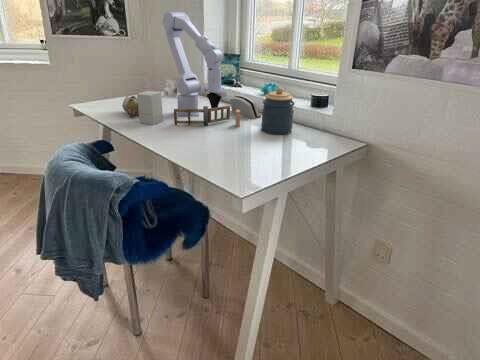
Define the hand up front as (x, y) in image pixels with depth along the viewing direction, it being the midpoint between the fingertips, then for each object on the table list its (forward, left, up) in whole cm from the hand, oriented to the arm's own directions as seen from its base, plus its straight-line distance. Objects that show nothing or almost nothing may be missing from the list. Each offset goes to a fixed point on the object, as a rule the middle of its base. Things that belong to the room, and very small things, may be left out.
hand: (214, 110), depth 158 cm
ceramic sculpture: (-36, +8, -5) cm, 38 cm away
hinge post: (-4, -9, -4) cm, 10 cm away
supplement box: (-27, -5, -5) cm, 28 cm away
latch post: (+10, -9, -4) cm, 14 cm away
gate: (+2, -5, -4) cm, 6 cm away
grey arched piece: (+14, +10, -5) cm, 18 cm away
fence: (-11, -9, -4) cm, 15 cm away
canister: (+26, -15, -5) cm, 30 cm away
